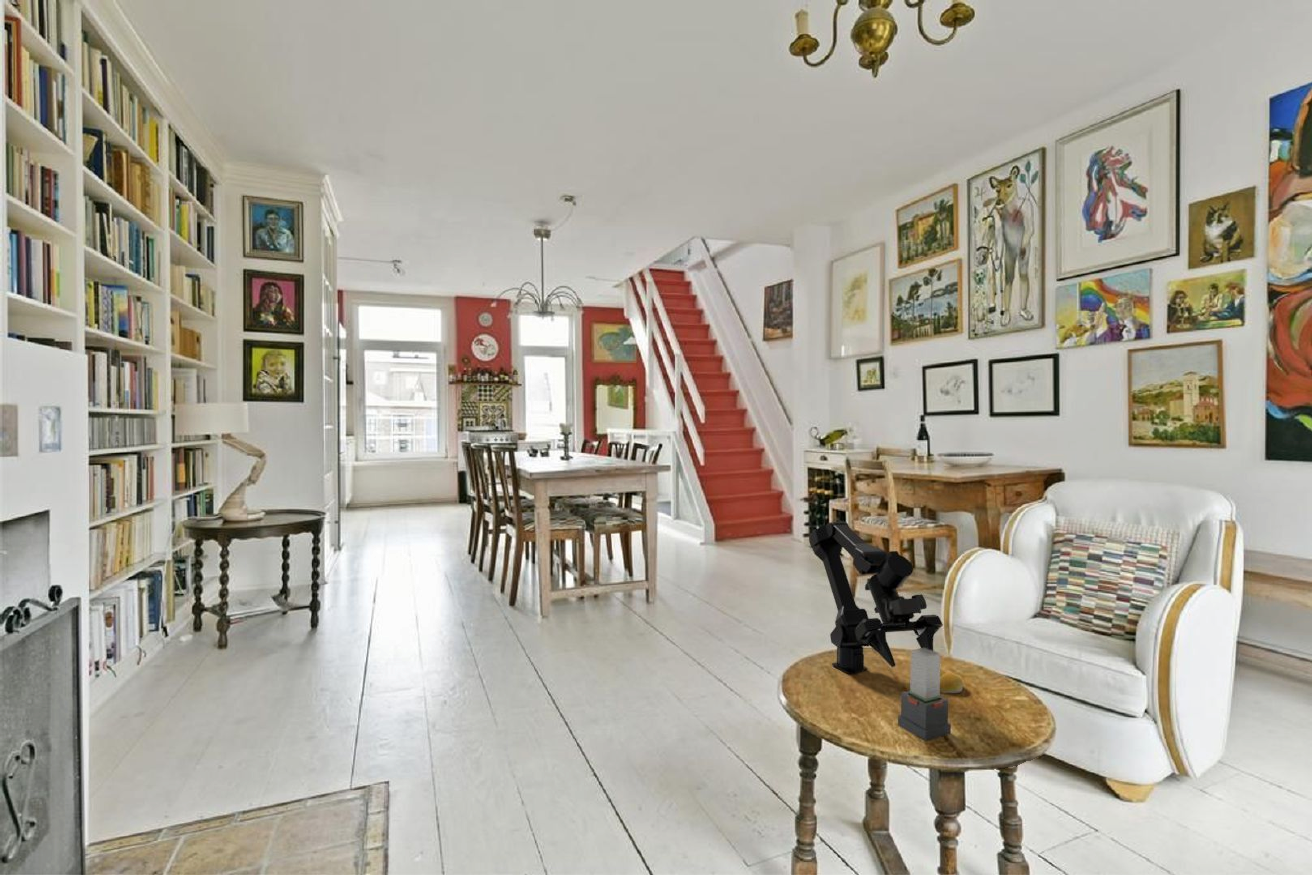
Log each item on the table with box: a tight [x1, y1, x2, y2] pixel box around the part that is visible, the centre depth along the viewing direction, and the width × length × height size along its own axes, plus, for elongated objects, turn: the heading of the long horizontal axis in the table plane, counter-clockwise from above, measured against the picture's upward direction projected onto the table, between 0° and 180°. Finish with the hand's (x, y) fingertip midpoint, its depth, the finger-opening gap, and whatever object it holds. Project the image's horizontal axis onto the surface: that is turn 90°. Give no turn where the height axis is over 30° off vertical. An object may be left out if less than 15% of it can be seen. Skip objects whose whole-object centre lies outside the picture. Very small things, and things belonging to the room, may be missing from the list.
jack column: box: [908, 647, 942, 703], centre depth 132 cm, size 4×4×11 cm
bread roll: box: [940, 668, 964, 694], centre depth 154 cm, size 8×9×4 cm
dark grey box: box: [897, 690, 952, 742], centre depth 132 cm, size 7×7×7 cm
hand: (913, 664), depth 136 cm, fingers open, 9 cm apart
